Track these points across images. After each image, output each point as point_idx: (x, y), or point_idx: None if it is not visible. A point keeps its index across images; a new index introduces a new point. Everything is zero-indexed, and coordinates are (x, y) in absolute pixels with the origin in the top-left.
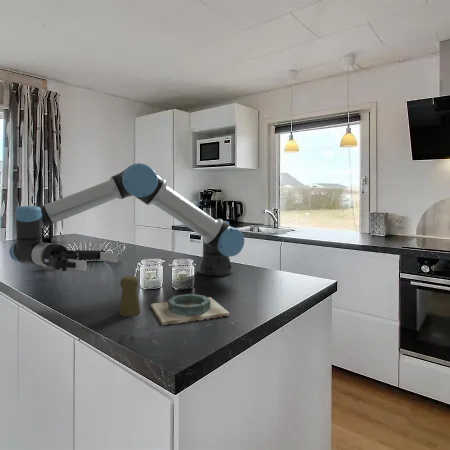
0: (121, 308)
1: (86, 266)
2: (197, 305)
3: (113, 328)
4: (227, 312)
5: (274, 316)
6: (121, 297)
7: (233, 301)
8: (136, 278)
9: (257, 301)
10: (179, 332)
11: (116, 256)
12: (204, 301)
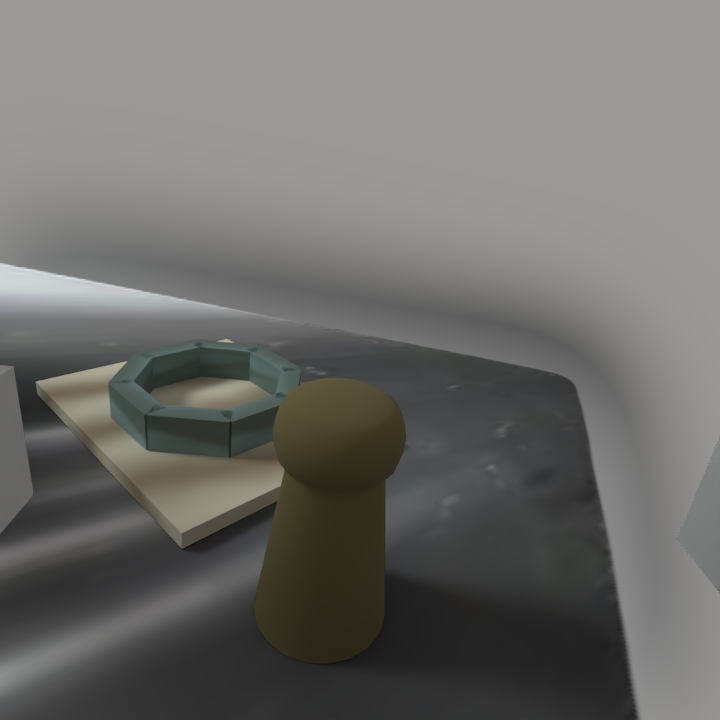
0: (381, 594)
1: (698, 493)
2: (266, 354)
3: (535, 567)
4: (225, 341)
5: (200, 302)
6: (370, 549)
7: (60, 351)
8: (325, 378)
9: (60, 318)
10: (409, 404)
11: (9, 407)
12: (214, 347)
